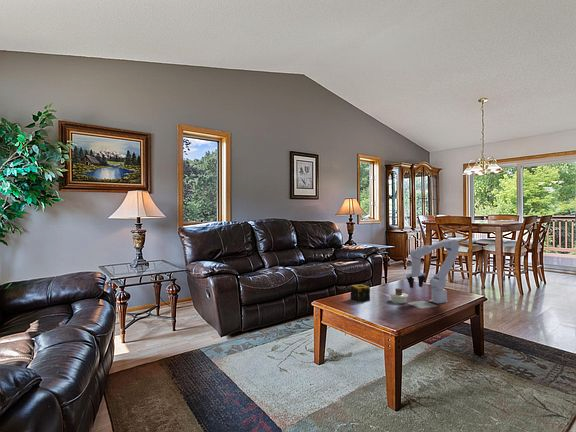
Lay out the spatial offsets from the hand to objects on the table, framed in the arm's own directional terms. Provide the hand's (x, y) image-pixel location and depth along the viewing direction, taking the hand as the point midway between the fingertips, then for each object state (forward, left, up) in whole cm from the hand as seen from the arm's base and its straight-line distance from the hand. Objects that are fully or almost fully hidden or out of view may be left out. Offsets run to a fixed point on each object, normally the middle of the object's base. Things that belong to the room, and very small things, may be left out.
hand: (416, 287), depth 218 cm
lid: (+10, -6, -6) cm, 13 cm away
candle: (+31, -21, -11) cm, 39 cm away
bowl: (+10, -6, -10) cm, 15 cm away
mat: (+1, +6, -10) cm, 12 cm away
